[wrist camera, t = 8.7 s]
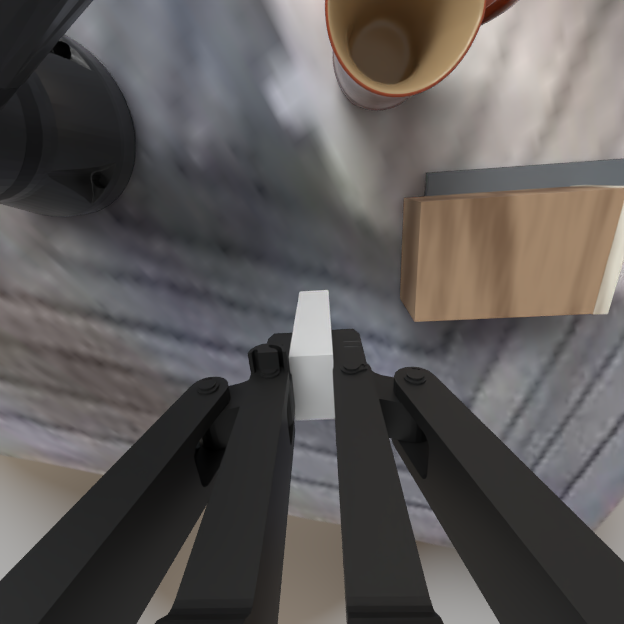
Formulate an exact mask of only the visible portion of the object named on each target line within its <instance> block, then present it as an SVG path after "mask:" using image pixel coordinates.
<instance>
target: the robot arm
mask: <svg viewBox="0 0 624 624" xmlns="http://www.w3.org/2000/svg"><path fill="white" fill-rule="evenodd" d="M92 1H93V0H0V204H3V205H7V206H10V207H14V208H18V209H22V210H26V211H29V212H33V213H37V214H41V215H47V216H58V217H67V216H75V215H82V214H88V213H92V212H96V211H98V210H101V209H103V208H105V207H106V206H108V205H109V204H111V203H112V202H113V201H114V200H115V199H116V198H117V197H118V196H119V195H120V194H121V193H122V191H123V190H124V188H125V187H126V185H127V183H128V181H129V179H130V176H131V173H132V170H133V165H134V159H135V135H134V128H133V124H132V120H131V116H130V113H129V110H128V107H127V104H126V102H125V100H124V98H123V95H122V93H121V91H120V90H119V88H118V86H117V84H116V83H115V81H114V80H113V78H112V77H111V75H110V74H109V72H108V71H107V70H106V69H105V67H104V66H103V65H102V64H101V63H100V62H99V61H98V60H97V59H96V58H95V57H94V56H93V55H92V54H91V53H90V52H89V51H88V50H87V49H86V48H84V47H83V46H82V45H80V44H79V43H77V42H76V41H74V40H73V39H71V38H70V37H68V36H66V35H64V34H65V33H66V31H67V30H68V29H69V28H70V27H71V25H72V24H73V23H74V22H75V21H76V19H77V18H78V17H79V16H80V15H81V14H82V13H83V11H84V10H85V9H86V8H87V7H88V6H89V5H90V3H91V2H92ZM248 358H249V364H250V370H251V376H250V379H249V380H248V381H245V382H243V383H239V384H235V385H231V386H228V382H227V381H226V380H225V379H224V378H221V377H208V378H204V379H202V380H200V381H197V382H196V383H194V384H193V385H192V386H191V387H190V388H189V389H188V390H187V391H186V392H185V393H184V394H183V395H182V396H181V397H180V398H179V399H178V400H177V401H176V402H175V403H174V404H173V405H172V406H171V407H170V408H169V409H168V410H167V411H166V412H165V413H164V414H163V415H162V416H161V417H160V418H159V419H158V420H157V421H156V422H155V423H154V424H153V425H152V426H151V427H150V428H149V429H148V430H147V431H146V433H145V434H144V435H143V436H142V437H141V438H140V439H139V440H138V441H137V442H136V443H135V444H134V445H133V446H132V447H131V448H130V449H129V450H128V451H127V452H126V453H125V454H124V455H123V456H122V457H121V458H120V459H119V460H118V461H117V462H116V463H115V464H114V465H113V466H112V467H111V468H110V469H109V470H108V471H107V472H106V473H105V474H104V475H103V476H102V478H100V479H99V481H98V482H97V483H96V484H95V485H94V486H93V487H92V488H91V489H90V490H89V491H88V492H87V493H86V494H85V495H84V496H83V497H82V498H81V499H80V500H79V501H78V502H77V503H76V504H75V505H74V506H73V507H72V508H71V509H70V510H69V511H68V512H67V513H66V514H65V515H64V516H63V517H62V518H61V519H60V520H59V521H58V522H57V523H56V525H55V526H53V528H52V529H51V530H50V531H49V532H48V533H47V534H46V535H45V536H44V537H43V538H42V539H41V540H40V541H39V542H38V543H37V544H36V545H35V546H34V547H33V548H32V549H31V550H30V551H29V552H28V553H27V554H26V555H25V556H24V557H23V558H22V559H21V560H20V561H19V562H18V563H17V564H16V565H15V566H14V567H13V568H12V569H11V570H10V571H9V572H8V573H7V574H6V576H5V577H4V578H3V579H2V580H1V581H0V624H137V622H138V620H139V618H140V617H141V615H142V613H143V612H144V610H145V608H146V607H147V605H148V603H149V602H150V600H151V598H152V596H153V595H154V593H155V591H156V590H157V588H158V586H159V585H160V583H161V581H162V579H163V578H164V576H165V574H166V573H167V571H168V569H169V568H170V566H171V564H172V563H173V561H174V559H175V557H176V556H177V554H178V552H179V551H180V549H181V547H182V545H183V544H184V542H185V540H186V539H187V537H188V535H189V534H190V532H191V530H192V528H193V527H194V525H195V523H196V522H197V520H198V519H199V517H200V515H201V513H202V512H203V510H204V508H205V506H206V505H207V506H206V509H205V513H204V515H203V518H202V522H201V524H200V527H199V530H198V533H197V536H196V539H195V542H194V545H193V548H192V551H191V554H190V557H189V560H188V563H187V566H186V569H185V572H184V575H183V578H182V581H181V584H180V587H179V590H178V593H177V596H176V599H175V601H174V604H173V606H172V609H171V610H170V612H169V613H168V615H166V616H164V617H163V618H161V619H159V620H157V621H156V623H155V624H278V613H279V602H280V592H281V580H282V570H283V559H284V548H285V537H286V526H287V515H288V504H289V493H290V482H291V471H292V460H293V449H294V438H295V425H294V414H295V419H296V420H322V419H335V427H336V446H337V462H338V479H339V497H340V514H341V530H342V549H343V566H344V582H345V600H346V618H347V624H444V623H443V621H442V619H441V617H440V616H439V615H438V614H437V613H436V612H435V611H434V609H433V606H432V604H431V600H430V597H429V593H428V589H427V586H426V581H425V577H424V574H423V570H422V566H421V562H420V558H419V554H418V550H417V546H416V542H415V538H414V534H413V530H412V527H411V523H410V519H409V515H408V511H407V507H406V503H405V499H404V495H403V491H402V487H401V484H400V480H399V476H398V472H397V468H396V464H395V460H394V456H393V452H392V448H391V445H390V441H389V438H392V442H393V445H394V446H395V448H396V450H397V451H398V453H399V455H400V456H401V458H402V460H403V461H404V463H405V465H406V467H407V468H408V470H409V472H410V473H411V475H412V477H413V478H414V480H415V482H416V483H417V485H418V487H419V488H420V490H421V492H422V493H423V495H424V497H425V498H426V500H427V502H428V503H429V505H430V507H431V509H432V510H433V512H434V514H435V515H436V517H437V519H438V520H439V522H440V524H441V525H442V527H443V529H444V530H445V532H446V534H447V535H448V537H449V539H450V540H451V542H452V544H453V546H454V547H455V549H456V550H457V552H458V554H459V556H460V557H461V559H462V560H463V562H464V564H465V566H466V567H467V569H468V571H469V572H470V574H471V576H472V577H473V579H474V581H475V582H476V584H477V586H478V587H479V589H480V591H481V593H482V594H483V596H484V597H485V599H486V601H487V603H488V604H489V606H490V608H491V609H492V611H493V613H494V614H495V616H496V618H497V619H498V621H499V623H500V624H624V562H623V561H622V560H621V559H620V558H619V557H618V556H617V555H616V554H615V553H614V552H613V551H612V550H611V549H610V548H609V547H608V546H607V545H606V544H605V543H604V542H603V541H602V540H601V539H600V538H599V537H598V536H597V535H596V534H595V533H594V532H593V531H592V530H591V529H590V528H589V527H588V526H587V525H586V524H585V523H584V522H583V521H582V520H581V519H580V518H579V517H578V516H577V515H576V514H575V513H574V512H573V511H572V510H571V509H570V508H569V507H568V506H567V505H566V504H565V503H563V502H562V501H561V500H560V499H559V498H558V497H557V496H556V495H555V494H554V493H553V492H552V491H551V490H550V489H549V488H548V487H547V486H546V485H545V484H544V483H543V482H542V481H541V480H540V479H539V478H538V477H537V476H536V475H535V474H534V473H533V472H532V471H531V470H530V469H529V468H528V467H527V466H526V465H525V464H524V463H523V462H522V461H521V460H520V459H519V458H518V457H517V456H516V455H515V454H514V453H513V452H512V451H511V450H510V449H509V448H508V447H507V446H506V445H505V444H504V443H503V442H502V441H501V440H500V439H499V438H498V437H497V436H496V435H495V434H494V433H493V432H492V431H491V430H490V429H488V428H487V427H486V426H485V425H484V424H483V423H482V422H481V421H480V420H479V419H478V418H477V417H476V416H475V415H474V414H473V413H472V412H471V411H470V410H469V409H468V408H467V407H466V406H465V405H464V404H463V403H462V402H461V401H460V400H459V399H458V398H457V397H456V396H455V395H454V394H453V393H452V392H451V391H450V390H449V389H448V388H447V387H446V386H445V385H444V384H443V383H442V382H441V381H440V380H439V379H438V378H437V377H436V376H435V375H434V374H432V373H431V372H429V371H428V370H425V369H422V368H419V367H405V368H402V369H399V370H398V371H397V372H395V375H394V377H388V376H383V375H379V374H377V373H375V372H373V371H372V370H371V367H370V366H369V364H367V363H366V359H365V355H364V351H363V347H362V343H361V339H360V334H359V333H358V332H357V331H355V330H354V329H340V330H331V321H330V307H329V293H328V290H318V291H300V292H299V298H298V304H297V310H296V316H295V322H294V328H293V333H278V334H273V335H272V336H271V337H270V338H269V339H268V341H267V344H261V345H258V346H256V347H254V348H252V349H251V350H250V351H249V352H248Z"/></svg>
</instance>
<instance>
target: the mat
mask: <svg viewBox="0 0 624 624" xmlns="http://www.w3.org/2000/svg"><path fill="white" fill-rule="evenodd" d="M575 185H609V186H624V159H613V160H599V161H585V162H571V163H557V164H543V165H529V166H516V167H502V168H488V169H474V170H460V171H446V172H432V173H426V186H425V196H437V195H452V194H466V193H481V192H496V191H511V190H525V189H540V188H555V187H570V186H575Z"/></svg>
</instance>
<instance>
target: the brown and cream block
mask: <svg viewBox="0 0 624 624" xmlns="http://www.w3.org/2000/svg"><path fill="white" fill-rule="evenodd" d="M623 261H624V186H609V185H575V186H570V187H555V188H540V189H525V190H511V191H496V192H481V193H466V194H452V195H437V196H422V197H408V198H404V205H403V232H402V260H401V287H400V299H401V301H402V302H403V304H404V306H405V307H406V309H407V310H408V312H409V314H410V315H411V317H412V319H413V320H414V322H421V321H443V320H466V319H488V318H510V317H532V316H554V315H576V314H593V315H594V314H608V312H609V308H610V305H611V301H612V298H613V295H614V291H615V288H616V285H617V281H618V278H619V274H620V271H621V268H622V264H623Z"/></svg>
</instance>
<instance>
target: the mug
mask: <svg viewBox="0 0 624 624" xmlns="http://www.w3.org/2000/svg"><path fill="white" fill-rule="evenodd" d="M518 1H519V0H325V17H326V26H327V31H328V36H329V40H330V43H331V46H332V49H333V66H334V71H335V75H336V78H337V81H338V84H339V86H340V88H341V90H342V91H343V93H344V94H345V96H346V97H347V98H348V99H349V101H350V102H351V103H352V104H354V105H356V106H359V107H361V108H364V109H367V110H386V109H390V108H393V107H395V106H398V105H399V104H401V103H403V102H404V101H405V100H407V99H408V98H409V97H410V96H412V95H416V94H419V93H422V92H424V91H426V90H428V89H430V88H432V87H433V86H435V85H437V84H438V83H439V82H441V81H442V80H443V79H445V78H446V77H447V76H448V75H449V74H450V73H451V72H452V71H453V70H454V69H455V68H456V67H457V65H458V64H459V63H460V62H461V61H462V59H463V58H464V56H465V55H466V53H467V52H468V50H469V48H470V47H471V45H472V43H473V41H474V39H475V37H476V35H477V33H478V30H479V28H480V26H481V25H483V24H485V23H487V22H489V21H491V20H492V19H494V18H496V17H497V16H499V15H501V14H502V13H504V12H505V11H507V10H508V9H509V8H511V7H512V6H513V5H514V4H516V3H517V2H518Z"/></svg>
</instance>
